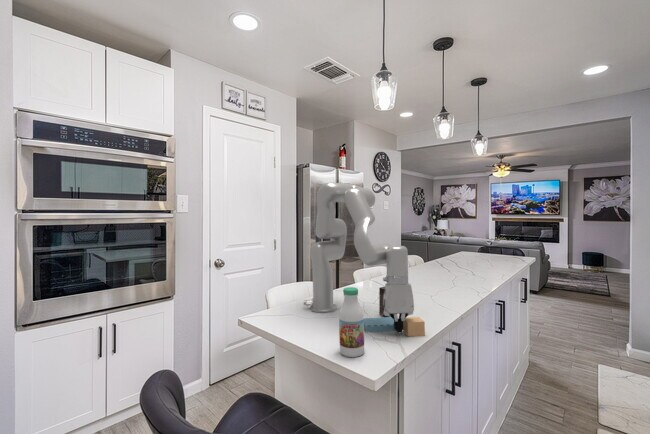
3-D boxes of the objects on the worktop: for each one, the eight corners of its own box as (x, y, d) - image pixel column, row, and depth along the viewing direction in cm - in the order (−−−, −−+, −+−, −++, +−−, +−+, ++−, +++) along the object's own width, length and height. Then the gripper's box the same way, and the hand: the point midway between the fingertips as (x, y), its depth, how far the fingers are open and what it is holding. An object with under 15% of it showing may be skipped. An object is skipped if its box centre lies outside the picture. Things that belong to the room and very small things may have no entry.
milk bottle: (338, 347, 95) (336, 286, 96) (361, 346, 96) (360, 285, 96) (341, 358, 88) (340, 291, 88) (366, 357, 88) (365, 290, 89)
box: (386, 318, 123) (385, 289, 123) (379, 315, 126) (378, 287, 127) (396, 315, 126) (395, 287, 126) (389, 312, 130) (388, 285, 130)
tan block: (408, 336, 103) (407, 322, 103) (403, 331, 108) (403, 317, 108) (424, 335, 103) (424, 321, 103) (419, 330, 108) (418, 317, 108)
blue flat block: (366, 332, 108) (366, 325, 108) (361, 323, 117) (361, 317, 117) (403, 330, 109) (403, 324, 109) (396, 321, 118) (396, 316, 118)
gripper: (379, 283, 101) (381, 336, 101) (421, 281, 102) (423, 334, 102) (374, 278, 109) (375, 328, 108) (413, 277, 110) (415, 326, 109)
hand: (398, 331), depth 105 cm, fingers closed
